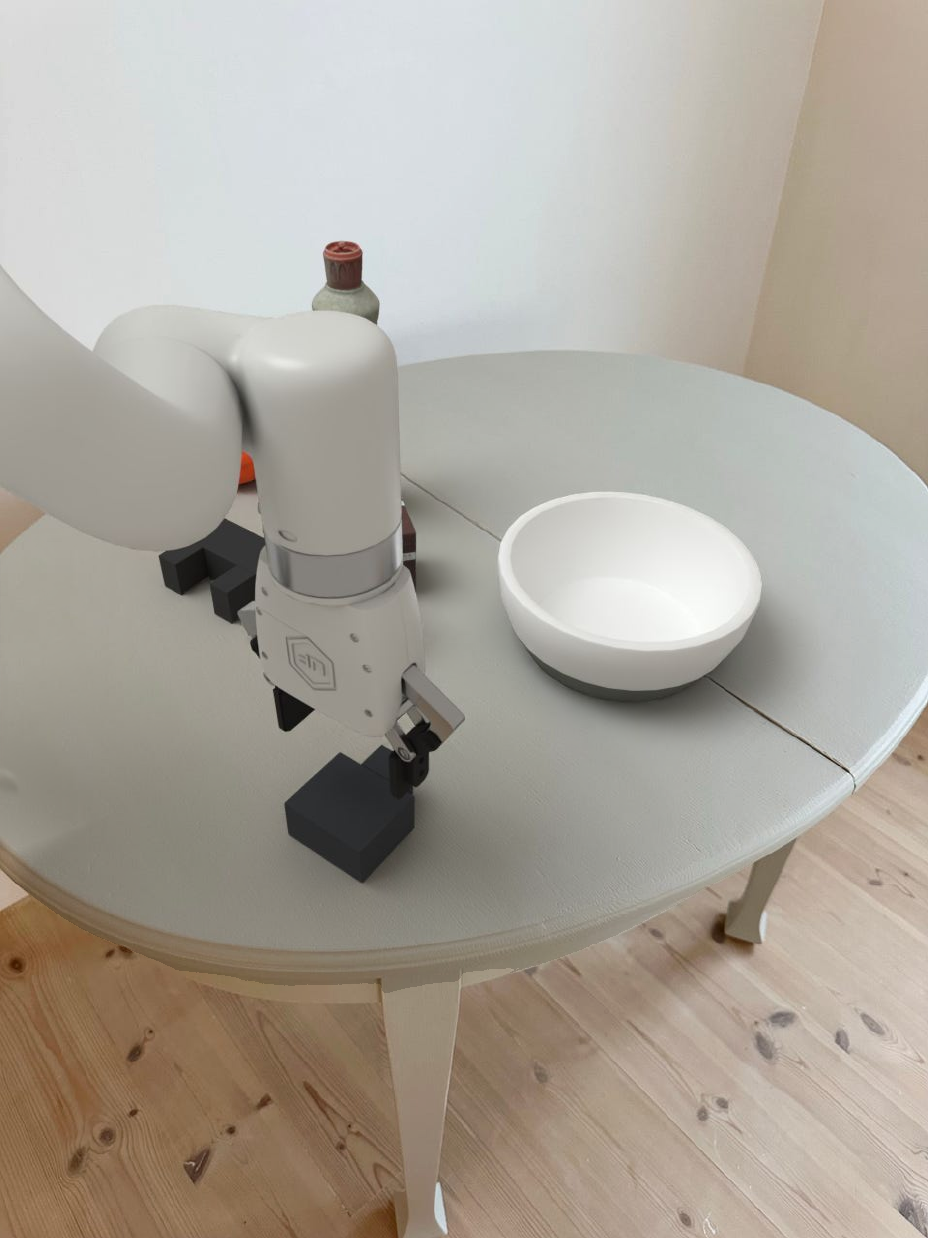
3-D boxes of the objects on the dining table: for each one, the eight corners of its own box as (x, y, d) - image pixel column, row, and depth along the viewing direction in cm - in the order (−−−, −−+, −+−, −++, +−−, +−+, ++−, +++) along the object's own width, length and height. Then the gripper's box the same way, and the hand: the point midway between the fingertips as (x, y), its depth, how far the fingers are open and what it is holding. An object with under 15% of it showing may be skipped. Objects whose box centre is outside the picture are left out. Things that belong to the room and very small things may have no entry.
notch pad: (232, 623, 86) (227, 592, 84) (164, 585, 90) (157, 555, 88) (293, 580, 91) (290, 550, 89) (226, 546, 95) (222, 516, 93)
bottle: (297, 522, 99) (271, 248, 81) (334, 478, 105) (318, 216, 87) (375, 540, 97) (366, 263, 79) (407, 494, 104) (406, 229, 85)
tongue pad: (362, 884, 66) (360, 853, 64) (287, 834, 69) (283, 802, 67) (434, 806, 71) (435, 775, 69) (362, 763, 74) (361, 732, 72)
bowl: (660, 543, 98) (675, 473, 93) (792, 689, 83) (819, 615, 77) (456, 586, 92) (459, 514, 86) (557, 754, 76) (568, 678, 70)
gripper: (175, 520, 54) (219, 727, 65) (417, 642, 47) (421, 852, 58) (268, 464, 59) (295, 666, 70) (502, 567, 51) (490, 774, 63)
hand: (352, 750), depth 64 cm, fingers open, 9 cm apart
